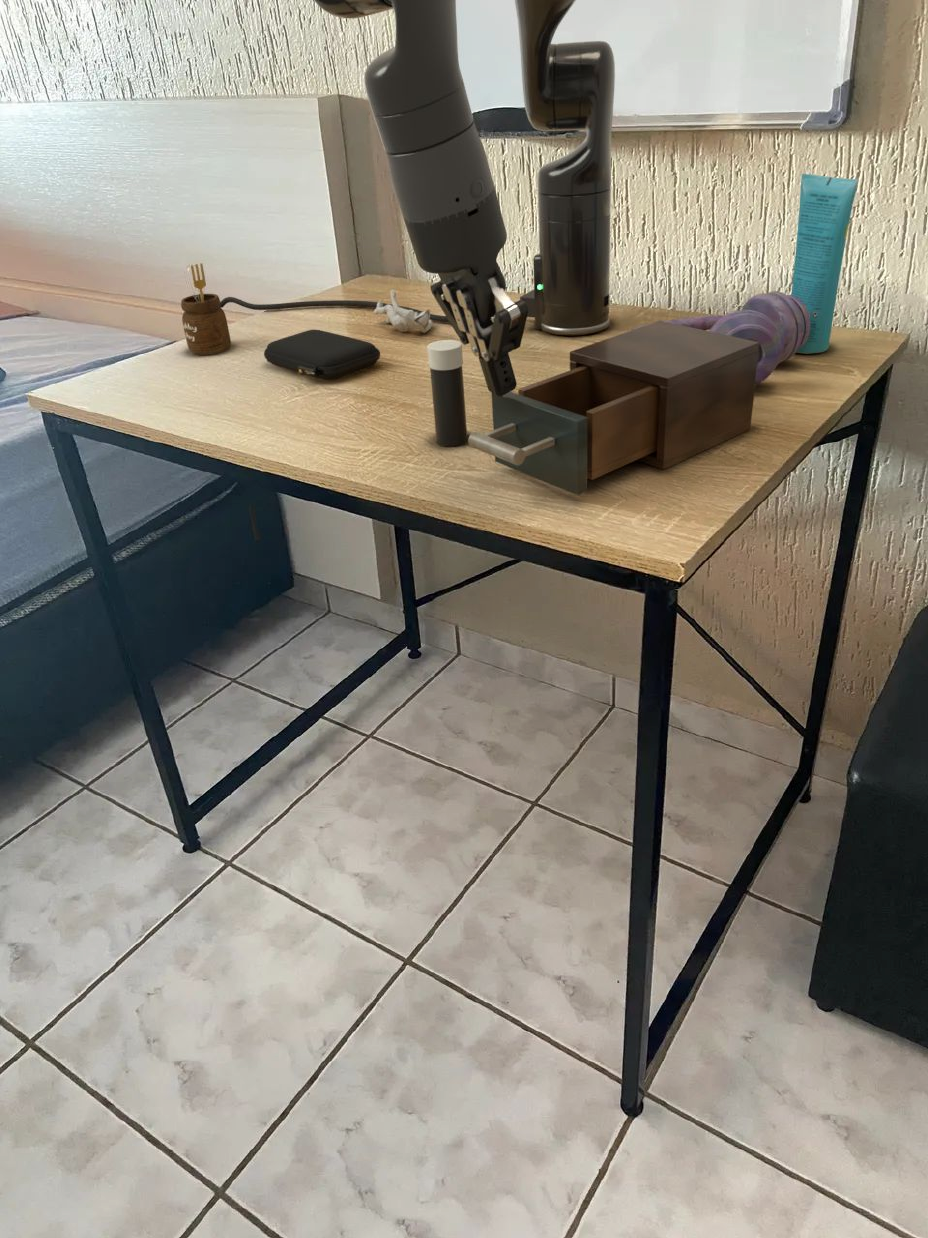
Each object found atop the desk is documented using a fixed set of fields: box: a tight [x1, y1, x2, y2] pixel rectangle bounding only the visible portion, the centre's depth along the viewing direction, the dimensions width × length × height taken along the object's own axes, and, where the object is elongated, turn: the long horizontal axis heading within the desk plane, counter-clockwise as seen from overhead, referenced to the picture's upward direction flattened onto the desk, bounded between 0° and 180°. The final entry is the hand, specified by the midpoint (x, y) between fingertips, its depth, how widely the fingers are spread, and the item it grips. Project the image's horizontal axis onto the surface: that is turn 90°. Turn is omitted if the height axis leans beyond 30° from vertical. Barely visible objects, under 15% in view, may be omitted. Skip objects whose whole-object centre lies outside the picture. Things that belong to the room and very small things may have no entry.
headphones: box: [631, 290, 811, 386], centre depth 109 cm, size 18×8×20 cm
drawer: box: [467, 365, 660, 496], centre depth 86 cm, size 17×11×7 cm, turn 130°
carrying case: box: [263, 329, 381, 381], centre depth 121 cm, size 11×3×15 cm
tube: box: [791, 173, 860, 355], centre depth 109 cm, size 7×5×19 cm, turn 39°
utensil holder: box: [180, 262, 232, 356], centre depth 128 cm, size 6×6×12 cm
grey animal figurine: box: [373, 289, 434, 334], centre depth 131 cm, size 8×5×12 cm
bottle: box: [426, 339, 468, 448], centre depth 95 cm, size 3×3×10 cm
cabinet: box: [569, 320, 759, 470], centre depth 93 cm, size 13×12×9 cm
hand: (503, 390), depth 84 cm, fingers closed
